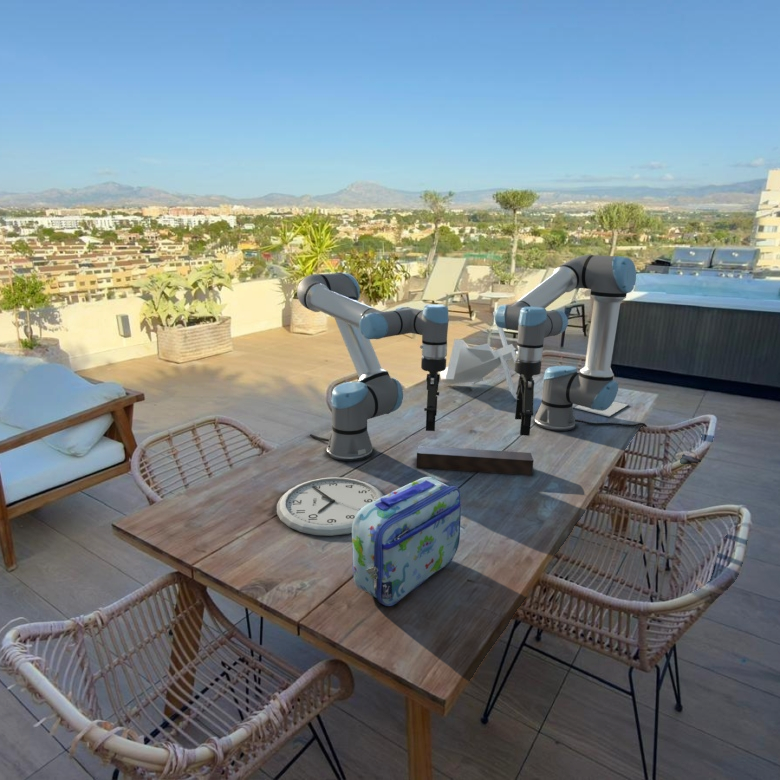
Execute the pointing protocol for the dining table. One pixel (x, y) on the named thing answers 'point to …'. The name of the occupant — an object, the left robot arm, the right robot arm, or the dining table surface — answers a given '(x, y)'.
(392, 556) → the lunch box
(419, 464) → the plank
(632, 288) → the right robot arm
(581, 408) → the invitation card
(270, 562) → the dining table surface
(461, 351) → the white plastic object
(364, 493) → the wall clock
